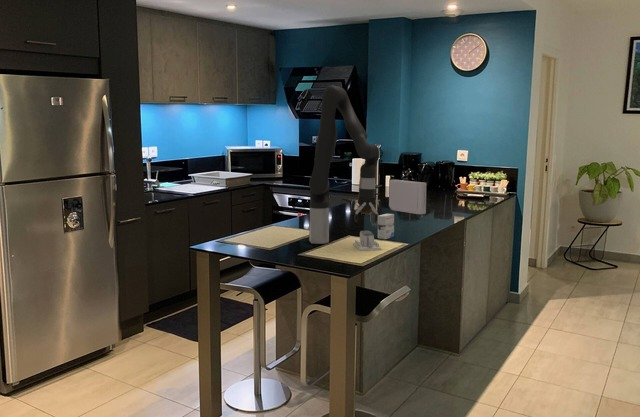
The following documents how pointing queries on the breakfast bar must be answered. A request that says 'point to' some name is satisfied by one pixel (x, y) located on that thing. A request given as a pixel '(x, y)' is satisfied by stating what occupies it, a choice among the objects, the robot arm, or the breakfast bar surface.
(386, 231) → the ink box
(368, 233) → the drive
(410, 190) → the game console
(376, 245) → the grey peg stand
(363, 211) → the ceramic cup
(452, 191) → the breakfast bar surface
